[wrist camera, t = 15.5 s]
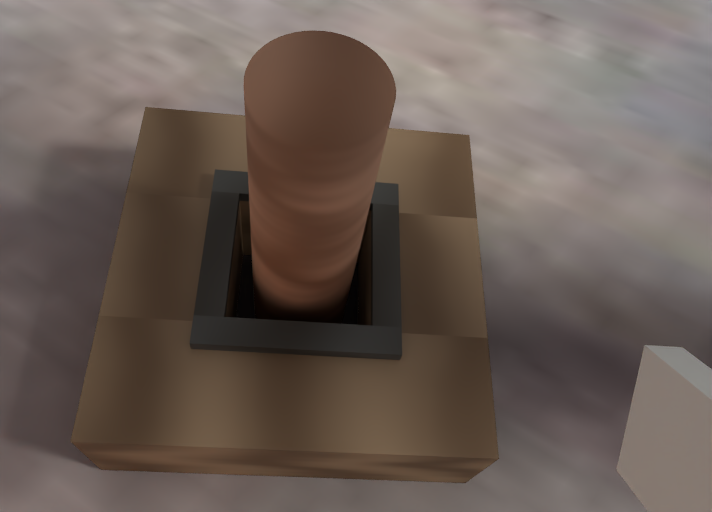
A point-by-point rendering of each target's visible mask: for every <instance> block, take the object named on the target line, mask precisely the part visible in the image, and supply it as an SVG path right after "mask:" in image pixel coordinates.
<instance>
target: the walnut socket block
mask: <svg viewBox="0 0 712 512" xmlns="http://www.w3.org/2000/svg"><path fill="white" fill-rule="evenodd" d="M243 255H252V248H251V227H250V206H249V185H248V164H247V143H246V122H245V116H243V115H231V114H220V113H208V112H197V111H185V110H173V109H162V108H150V107H145V112H144V116H143V121H142V125H141V129H140V134H139V138H138V143H137V147H136V152H135V156H134V161H133V165H132V170H131V174H130V178H129V183H128V187H127V192H126V196H125V201H124V205H123V210H122V214H121V218H120V223H119V227H118V232H117V236H116V241H115V245H114V250H113V254H112V259H111V263H110V267H109V272H108V276H107V281H106V285H105V290H104V294H103V299H102V303H101V308H100V312H99V316H98V321H97V325H96V330H95V334H94V339H93V343H92V348H91V352H90V356H89V361H88V365H87V370H86V374H85V379H84V383H83V388H82V392H81V397H80V401H79V405H78V410H77V414H76V419H75V423H74V428H73V432H72V437H71V441H70V442H71V443H72V444H74V445H75V446H76V447H77V448H78V449H79V450H80V451H81V452H82V453H83V454H84V455H85V456H87V457H88V458H89V459H90V460H91V461H92V462H93V463H94V464H95V465H96V466H97V467H99V468H100V469H101V470H123V471H150V472H178V473H205V474H233V475H261V476H288V477H316V478H343V479H371V480H398V481H426V482H453V483H466V482H467V481H469V480H470V479H471V478H473V477H474V476H476V475H477V474H478V473H480V472H481V471H483V470H484V469H485V468H487V467H488V466H489V465H491V464H492V463H494V462H495V461H496V460H498V459H499V456H498V445H497V434H496V423H495V412H494V401H493V390H492V379H491V368H490V357H489V346H488V335H487V324H486V313H485V302H484V291H483V281H482V270H481V259H480V248H479V237H478V226H477V215H476V204H475V193H474V182H473V171H472V160H471V149H470V138H469V135H461V134H450V133H438V132H427V131H415V130H404V129H392V128H388V132H387V137H386V141H385V145H384V149H383V153H382V157H381V162H380V166H379V170H378V174H377V178H376V182H375V187H374V191H373V195H372V199H371V203H370V207H369V212H368V216H367V220H366V224H365V228H364V232H363V237H362V241H361V245H360V249H359V253H358V257H357V262H358V322H357V325H354V324H337V323H320V322H303V321H286V320H268V319H251V318H236V317H237V308H238V299H239V290H240V281H241V272H242V263H243Z"/></svg>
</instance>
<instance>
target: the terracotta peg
mask: <svg viewBox="0 0 712 512" xmlns="http://www.w3.org/2000/svg"><path fill="white" fill-rule="evenodd" d="M395 99H396V87H395V82H394V78H393V75H392V73H391V71H390V69H389V68H388V66H387V64H386V63H385V62H384V61H383V59H382V58H381V57H380V56H379V55H378V54H377V53H376V52H374V51H373V50H372V49H370V48H369V47H368V46H366V45H364V44H363V43H361V42H359V41H357V40H355V39H353V38H350V37H347V36H344V35H341V34H337V33H333V32H326V31H301V32H295V33H291V34H287V35H284V36H281V37H278V38H276V39H274V40H272V41H270V42H269V43H267V44H266V45H264V46H263V47H262V48H261V49H260V50H258V51H257V52H256V54H255V55H254V56H253V57H252V59H251V60H250V62H249V64H248V66H247V68H246V71H245V76H244V101H245V122H246V143H247V164H248V185H249V206H250V227H251V248H252V269H253V290H254V311H255V319H268V320H286V321H303V322H320V323H337V324H342V320H343V316H344V311H345V307H346V303H347V299H348V295H349V291H350V287H351V282H352V278H353V274H354V270H355V266H356V262H357V257H358V253H359V249H360V245H361V241H362V237H363V232H364V228H365V224H366V220H367V216H368V212H369V207H370V203H371V199H372V195H373V191H374V187H375V182H376V178H377V174H378V170H379V166H380V162H381V157H382V153H383V149H384V145H385V141H386V137H387V132H388V128H389V124H390V120H391V116H392V112H393V107H394V103H395Z"/></svg>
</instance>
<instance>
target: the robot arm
mask: <svg viewBox="0 0 712 512" xmlns="http://www.w3.org/2000/svg"><path fill="white" fill-rule="evenodd" d="M616 470H617V472H618V473H619V474H620V476H621V477H622V478H623V479H624V481H625V482H626V483H627V485H628V486H629V487H630V489H631V490H632V491H633V492H634V494H635V495H636V496H637V498H638V499H639V500H640V502H641V503H642V504H643V506H644V507H645V508H646V509H647V511H648V512H712V369H711V368H709V367H708V366H707V365H705V364H704V363H703V362H701V361H700V360H699V359H697V358H696V357H695V356H693V355H692V354H691V353H689V352H688V351H687V350H685V349H684V348H683V347H670V346H654V345H644V349H643V354H642V358H641V363H640V367H639V371H638V376H637V380H636V385H635V389H634V394H633V398H632V402H631V407H630V411H629V416H628V420H627V425H626V429H625V433H624V438H623V442H622V447H621V451H620V456H619V460H618V464H617V469H616Z"/></svg>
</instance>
